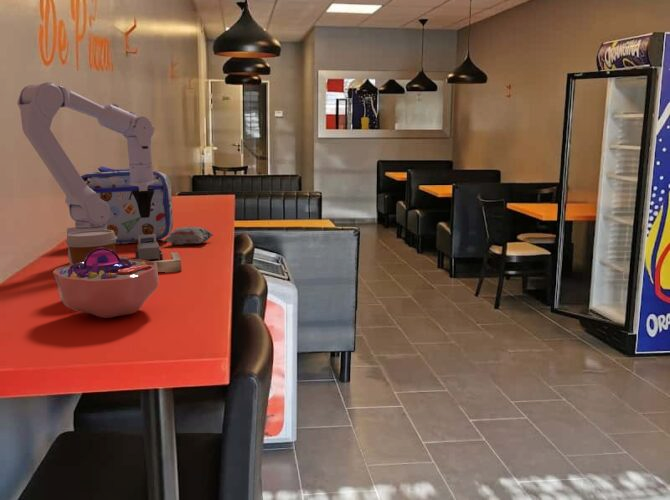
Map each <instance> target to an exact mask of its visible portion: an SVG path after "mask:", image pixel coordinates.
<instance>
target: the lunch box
mask: <svg viewBox="0 0 670 500" xmlns="http://www.w3.org/2000/svg"><path fill="white" fill-rule="evenodd" d="M97 170H98V171H94V172H90V173H85V174H83V175H80V176H81V178H82V179H83V181H84V182H85V184H86V185H87V186H88V187H89V188H90V189H92V190H93V191H94V192H96V193H97V195H98V196H99V198H100V199H102V200H104V201H105V202H106V203H107V204H108V205H109V207H110V217H109V219H108V221H107V222H106V223H107V230H113V231H114V233H115V236H116V237H117V239H116V242H115V245H128V244H127V243H132V244H138V235H152V234H156V241H159V240H163V239H165V238H167V237H168V236H169V235H170V234H171V233H172V232H173V227H174V219H173V218H174V214H173V199H172V184H171V180H170V178H169V176H168V175H167V174H165V172H161V171H158V170H157V171H155V170H153V180H154V181H158V183H157V184H152V185H148V187H147V188H154V194H153V197H152V200H151V208H150V216H149V218H141V216H140V213H139V209H138V205H137V202H136V199H135V197H134V196H133V194H132V190H138V189H139V187H138V186H132V185H130V182H131V180H130V169H128V168H126V169H123V168H121V169H120V168H119V169H117V168H115V169H114V168H110V167H109V168H108V167H107V166H106V167H105V166H99V167H98V168H97ZM150 242H154V237H147V238H141V243H150Z"/></svg>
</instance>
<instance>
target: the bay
mask: <svg viewBox="0 0 670 500" xmlns="http://www.w3.org/2000/svg"><path fill="white" fill-rule="evenodd" d="M120 258H121V259H129V258H128V256H127V255H125V256H120ZM150 261H151V260H150ZM151 262H156V263H157V268H158V272H165V273H175V272H182V269H183V268H182V259H181V257H180V255H179V253H178V251H176V252H174V251H173V252H170V259H165V260H164V259H163V260H154V261H153V260H152V261H151Z"/></svg>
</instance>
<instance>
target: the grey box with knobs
mask: <svg viewBox="0 0 670 500" xmlns="http://www.w3.org/2000/svg"><path fill="white" fill-rule="evenodd" d="M147 237H154V241H150V242H141V238H147ZM136 244H137V251H134V253H135V254H134V255H135V259H141V260H146V261H149V260H160V259H163V260H164V257H163V256H164V254H163V252H162V249H161V248H160V245H159V242H158V241H157V240H156V234H152V235H138V243H136Z"/></svg>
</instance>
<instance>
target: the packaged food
mask: <svg viewBox="0 0 670 500" xmlns="http://www.w3.org/2000/svg"><path fill="white" fill-rule="evenodd" d="M213 236H214V234H213V233H212V232H211V231H209V230H208V229H206V228H204V227H198V226H197V227H196V226H185V227H178V228H176V229H174V230H172V231H171V233H170V234H169V235H167V236H166V237H164V238H162V239H161V240H162V242H167V243H170V244H171V245H174V246H195V245H200V244H203V243H205V242H206V241H208V240H209V239H210V238H211V237H213Z"/></svg>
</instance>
